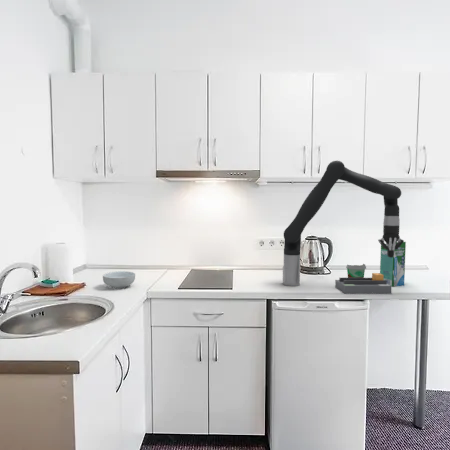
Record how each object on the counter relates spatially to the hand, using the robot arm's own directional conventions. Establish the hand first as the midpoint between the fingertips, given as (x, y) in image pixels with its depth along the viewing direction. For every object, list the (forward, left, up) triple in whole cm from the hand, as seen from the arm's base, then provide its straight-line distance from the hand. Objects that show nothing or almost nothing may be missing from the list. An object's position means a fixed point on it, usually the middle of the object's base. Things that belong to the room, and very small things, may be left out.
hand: (390, 257), depth 174 cm
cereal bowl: (-146, +6, -18) cm, 147 cm away
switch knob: (-6, 0, -13) cm, 15 cm away
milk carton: (+8, +14, -18) cm, 24 cm away
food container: (-9, +20, -18) cm, 28 cm away
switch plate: (-15, 0, -18) cm, 23 cm away
